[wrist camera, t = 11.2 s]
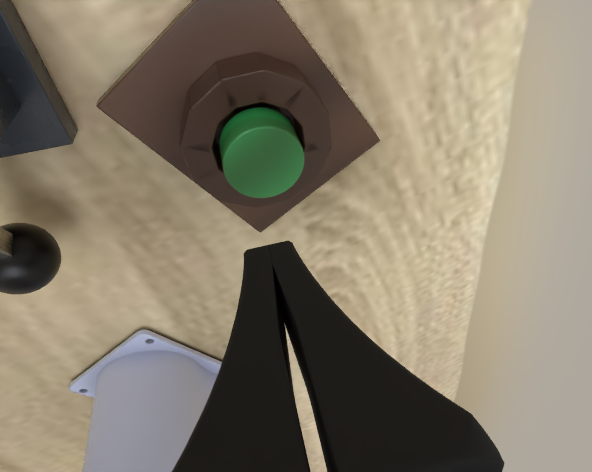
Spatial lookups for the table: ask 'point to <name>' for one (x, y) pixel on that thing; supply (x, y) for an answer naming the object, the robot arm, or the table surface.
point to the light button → (261, 153)
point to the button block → (237, 98)
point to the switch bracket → (27, 94)
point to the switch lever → (27, 258)
